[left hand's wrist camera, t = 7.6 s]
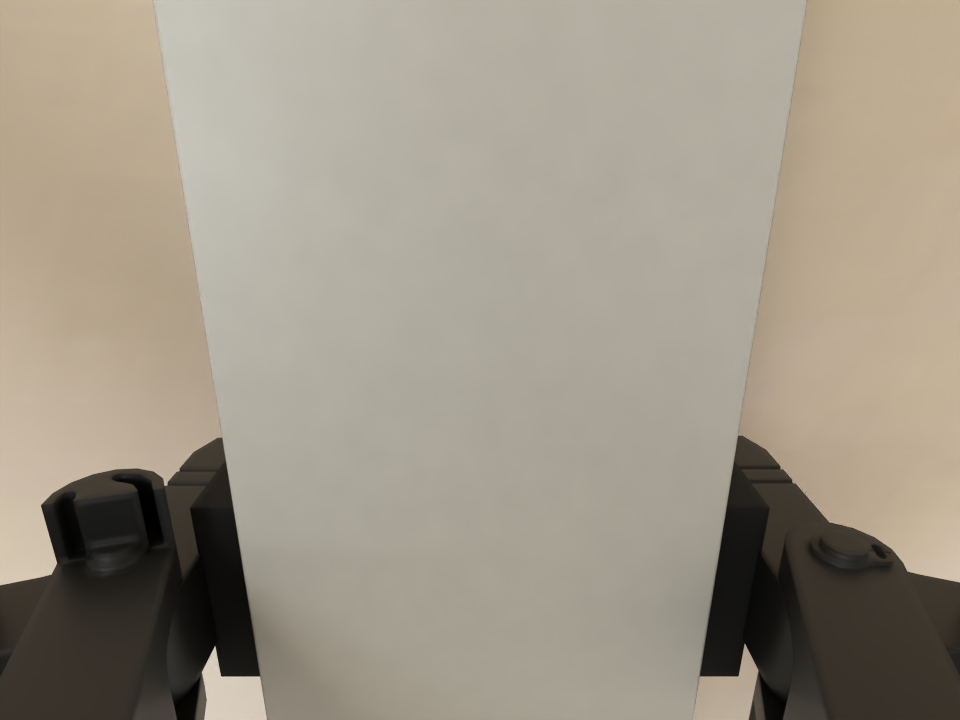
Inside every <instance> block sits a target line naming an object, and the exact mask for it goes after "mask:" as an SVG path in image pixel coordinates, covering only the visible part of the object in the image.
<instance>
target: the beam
mask: <svg viewBox="0 0 960 720" xmlns="http://www.w3.org/2000/svg"><path fill="white" fill-rule="evenodd" d="M153 5H154V11H155V17H156V23H157V30H158V36H159V42H160V49H161V55H162V61H163V67H164V74H165V80H166V86H167V93H168V99H169V105H170V112H171V118H172V124H173V130H174V137H175V143H176V149H177V156H178V162H179V168H180V174H181V181H182V187H183V193H184V200H185V206H186V212H187V218H188V225H189V231H190V237H191V244H192V250H193V256H194V263H195V269H196V275H197V281H198V288H199V294H200V300H201V307H202V313H203V319H204V325H205V332H206V338H207V344H208V351H209V357H210V363H211V369H212V376H213V382H214V388H215V395H216V401H217V407H218V413H219V420H220V426H221V432H222V439H223V445H224V451H225V458H226V464H227V470H228V476H229V483H230V489H231V495H232V502H233V508H234V514H235V520H236V527H237V533H238V539H239V546H240V552H241V558H242V564H243V571H244V577H245V583H246V590H247V596H248V602H249V608H250V615H251V621H252V627H253V634H254V640H255V646H256V653H257V659H258V665H259V671H260V678H261V684H262V690H263V697H264V703H265V709H266V715H267V720H693V715H694V708H695V702H696V696H697V689H698V683H699V677H700V671H701V664H702V658H703V652H704V645H705V639H706V633H707V627H708V620H709V614H710V608H711V601H712V595H713V589H714V583H715V576H716V570H717V564H718V558H719V551H720V545H721V539H722V532H723V526H724V520H725V514H726V507H727V501H728V495H729V488H730V482H731V476H732V470H733V463H734V457H735V451H736V444H737V438H738V432H739V426H740V419H741V413H742V407H743V401H744V394H745V388H746V382H747V375H748V369H749V363H750V357H751V350H752V344H753V338H754V331H755V325H756V319H757V313H758V306H759V300H760V294H761V287H762V281H763V275H764V269H765V262H766V256H767V250H768V244H769V237H770V231H771V225H772V218H773V212H774V206H775V200H776V193H777V187H778V181H779V174H780V168H781V162H782V156H783V149H784V143H785V137H786V130H787V124H788V118H789V112H790V105H791V99H792V93H793V87H794V80H795V74H796V68H797V61H798V55H799V49H800V43H801V36H802V30H803V24H804V17H805V11H806V5H807V0H153Z"/></svg>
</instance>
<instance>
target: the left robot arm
mask: <svg viewBox="0 0 960 720" xmlns="http://www.w3.org/2000/svg"><path fill="white" fill-rule="evenodd" d="M41 507H42V511H43V514H44V518H45V522H46V525H47V529H48V532H49V536H50V539H51V543H52V546H53V550H54V553H55V557H56V560H57V565H56V567H55V569H54V571H53V573H52V575H49V576H45V577H41V578H36V579H31V580H26V581H21V582H16V583H10V584H5V585H0V720H204V716H205V708H206V700H207V699H206V692H205V686H204V681H203V676H202V671H203V669H204V667H205V665H206V663H207V661H208V659H209V657H210V655H211V653H212V651H213V649H214V647H215V646H216V651H217V657H218V662H219V667H220V673H221V676H260V671H259V665H258V659H257V653H256V646H255V640H254V634H253V627H252V621H251V615H250V608H249V602H248V596H247V590H246V583H245V577H244V571H243V564H242V558H241V552H240V546H239V539H238V533H237V527H236V520H235V514H234V508H233V502H232V495H231V489H230V483H229V476H228V470H227V464H226V458H225V451H224V445H223V439H222V438H217V439H215V440H213V441H212V442H210V443H208V444H207V445H205V446H203V447H202V448H200V449H198V450H197V451H195V452H194V453H193V454H192V455H191V456H190V457H189V458H188V459H187V461H186V462H185V463H184V464H183V465H182V466H181V468H180V471H179V472H176V473H175V475H174V476H173V477H172V478H171V479H170V480H169V481H168V486H164V482H163V478H162V477H160V476H159V475H157V474H156V473H155V472H153V471H147V470H142V469H117V470H112V471H107V472H102V473H98V474H93V475H90V476H88V477H85V478H82V479H80V480H77V481H74V482H72V483H70V484H68V485H66V486H65V487H63V488H61V489H59V490H58V491H56V492H54V493H53V494H52V495H51V496H50V497H49V498H48V499H47V500H46V501H45V502H44V503H43V504H42V505H41ZM744 644H746V646H747V648H748V650H749V652H750V654H751V656H752V658H753V660H754V662H755V664H756V666H757V668H758V670H759V671H758V676H757V681H756V686H755V691H754V696H753V701H752V706H751V710H750V715H749V720H960V583H959V582H954V581H949V580H944V579H939V578H934V577H929V576H924V575H919V574H915V573H911V572H907V570H906V568H905V566H904V564H903V562H902V561H901V560H900V559H899V557H898V556H897V555H896V554H895V553H894V551H893V550H892V549H891V548H889V547H888V546H886V545H885V544H883V543H882V542H880V541H879V540H878V539H876V538H875V537H872V536H870V535H868V534H865V533H863V532H861V531H859V530H856V529H854V528H850V527H846V526H842V525H838V524H834V523H829V522H828V520H827V519H826V518H825V517H824V516H823V515H822V514H821V512H820V511H819V510H818V509H817V508H816V507H815V506H814V504H813V503H812V502H811V501H810V500H809V499H808V497H807V496H806V495H805V494H804V493H803V492H802V491H801V489H800V488H799V487H798V486H797V485H796V484H793V483H792V479H791V478H790V477H789V476H788V475H787V473H786V472H785V471H784V470H781V469H780V465H779V464H778V463H777V462H776V461H775V460H774V458H773V457H772V456H771V455H770V454H769V453H768V452H767V450H765V449H764V448H762V447H760V446H759V445H757V444H755V443H754V442H752V441H750V440H748V439H747V438H745V437H743V436H738V438H737V444H736V451H735V457H734V463H733V470H732V476H731V482H730V488H729V495H728V501H727V507H726V514H725V520H724V526H723V532H722V539H721V545H720V551H719V558H718V564H717V570H716V576H715V583H714V589H713V595H712V601H711V608H710V614H709V620H708V627H707V633H706V639H705V645H704V652H703V658H702V664H701V671H700V676H739V670H740V665H741V660H742V654H743V649H744Z"/></svg>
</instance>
